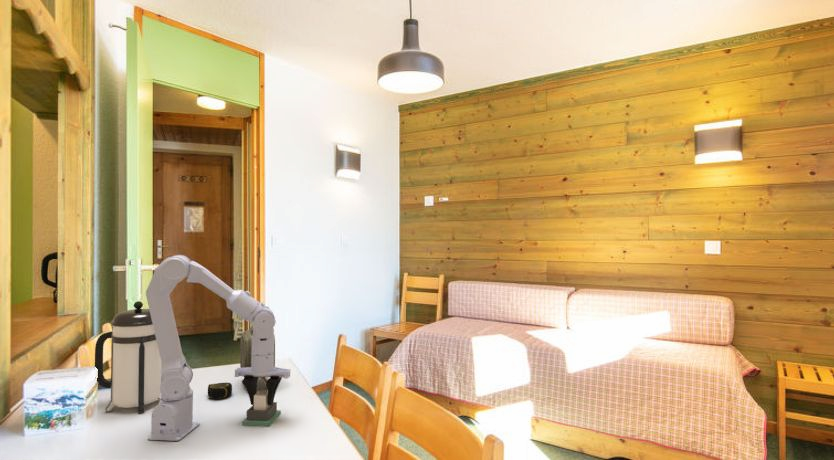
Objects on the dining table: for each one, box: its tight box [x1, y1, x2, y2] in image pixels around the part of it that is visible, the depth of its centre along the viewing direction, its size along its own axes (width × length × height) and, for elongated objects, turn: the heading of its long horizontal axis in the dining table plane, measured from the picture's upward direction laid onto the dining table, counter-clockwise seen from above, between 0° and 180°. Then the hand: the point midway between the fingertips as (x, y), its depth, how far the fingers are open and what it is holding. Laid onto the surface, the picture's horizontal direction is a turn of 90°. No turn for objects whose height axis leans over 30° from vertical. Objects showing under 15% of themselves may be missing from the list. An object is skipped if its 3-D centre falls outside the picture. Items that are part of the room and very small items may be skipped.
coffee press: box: [94, 300, 162, 415], centre depth 128 cm, size 17×16×30 cm
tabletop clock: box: [239, 325, 276, 390], centre depth 146 cm, size 14×9×25 cm, turn 27°
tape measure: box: [207, 382, 233, 400], centre depth 136 cm, size 7×7×4 cm
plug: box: [254, 389, 271, 411], centre depth 120 cm, size 4×3×7 cm
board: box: [241, 401, 282, 427], centre depth 120 cm, size 8×7×4 cm
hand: (262, 403), depth 120 cm, fingers open, 4 cm apart
